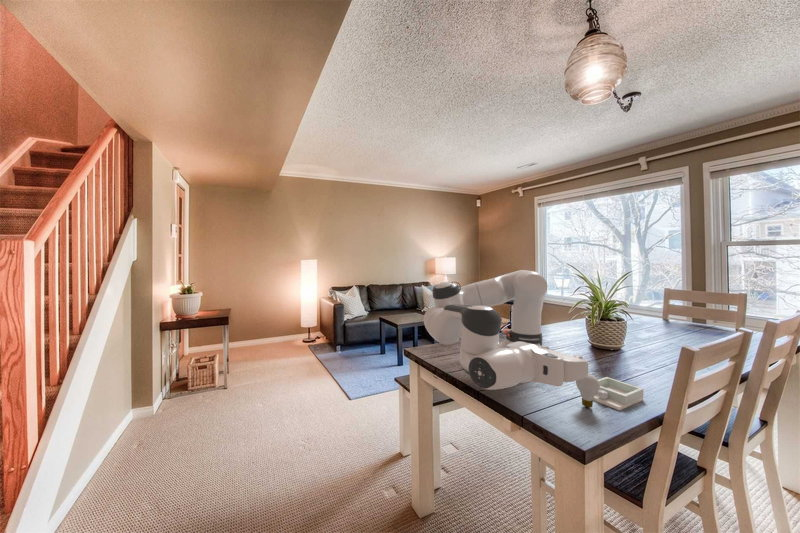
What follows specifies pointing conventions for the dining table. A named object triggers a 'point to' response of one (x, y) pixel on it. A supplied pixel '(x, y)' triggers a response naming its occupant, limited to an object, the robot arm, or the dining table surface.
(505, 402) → the dining table surface
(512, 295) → the robot arm
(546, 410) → the dining table surface
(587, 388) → the light bulb
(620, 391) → the housing base
